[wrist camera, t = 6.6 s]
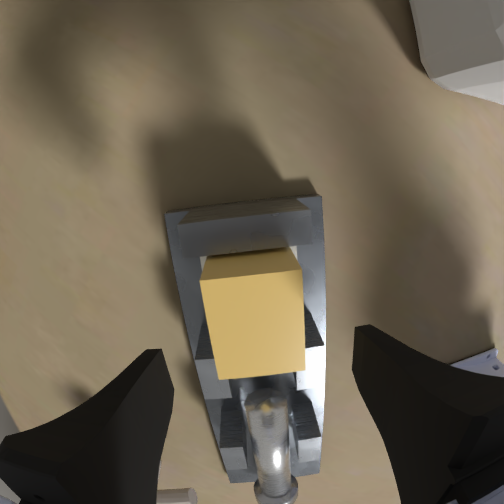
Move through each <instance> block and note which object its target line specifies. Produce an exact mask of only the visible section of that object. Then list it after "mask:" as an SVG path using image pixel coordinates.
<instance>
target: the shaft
mask: <svg viewBox="0 0 504 504" xmlns="http://www.w3.org/2000/svg"><path fill="white" fill-rule="evenodd" d="M244 406H245V411H246V417H247V422H248V428H249V433H250V438H251V444H252V449H253V454H254V459H255V464H256V469H257V474H258V479H257V480H256V482H255V484H254V492H255V497H256V500H257V502H258V503H259V504H293V503H294V502H295V501H296V499H297V496H298V483H297V480H296V478H295V477H294V476H293V475H292V474H291V467H290V446H289V427H288V409H287V398H286V396H285V395H284V394H283V393H282V392H281V391H279V390H276V389H272V388H264V389H259V390H256V391H254V392H252V393H250V394H249V395H248V396H247V397H246V399H245V402H244Z"/></svg>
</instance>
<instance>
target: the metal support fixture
mask: <svg viewBox="0 0 504 504" xmlns="http://www.w3.org/2000/svg"><path fill="white" fill-rule="evenodd" d="M164 215H165V221H166V227H167V233H168V239H169V244H170V250H171V255H172V261H173V266H174V271H175V276H176V281H177V286H178V291H179V296H180V301H181V305H182V310H183V315H184V319H185V324H186V328H187V332H188V337H189V341H190V345H191V349H192V353H193V357H194V361H195V365H196V369H197V373H198V377H199V381H200V384H201V388H202V392H203V395H204V399H205V403H206V406H207V410H208V413H209V417H210V420H211V424H212V427H213V430H214V434H215V437H216V440H217V443H218V447H219V450H220V453H221V456H222V459H223V462H224V465H225V468H226V471H227V474H228V477H229V480H230V483H242V482H256V480H257V479H258V474H257V469H256V464H255V459H254V454H253V449H252V444H251V438H250V433H249V428H248V422H247V417H246V411H245V406H244V402H245V399H246V397H247V396H248V395H249V394H250V393H252V392H254V391H256V390H259V389H264V388H272V389H276V390H279V391H281V392H282V393H283V394H284V395H285V396H286V398H287V409H288V427H289V446H290V467H291V474H292V475H293V476H294V477H298V476H305V475H311V474H317V473H319V471H320V459H321V446H322V431H323V414H324V392H325V358H326V287H325V252H324V229H323V210H322V196H320V195H318V194H312V195H301V196H290V197H280V198H270V199H260V200H251V201H242V202H234V203H225V204H217V205H209V206H201V207H193V208H186V209H179V210H171V211H167V212H166V213H165V214H164ZM281 247H290V248H291V250H292V252H293V254H294V255H295V257H296V259H297V261H298V263H299V265H300V266H301V268H302V277H303V299H304V325H305V365H306V370H304V371H297V372H290V373H282V374H274V375H266V376H257V377H247V378H236V379H224V380H219V378H218V373H217V369H216V364H215V359H214V354H213V350H212V345H211V340H210V335H209V329H208V324H207V319H206V314H205V308H204V303H203V297H202V292H201V286H200V278H201V274H202V271H203V267H204V264H205V261H206V257H207V256H210V255H219V254H228V253H237V252H245V251H254V250H263V249H272V248H281Z"/></svg>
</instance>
